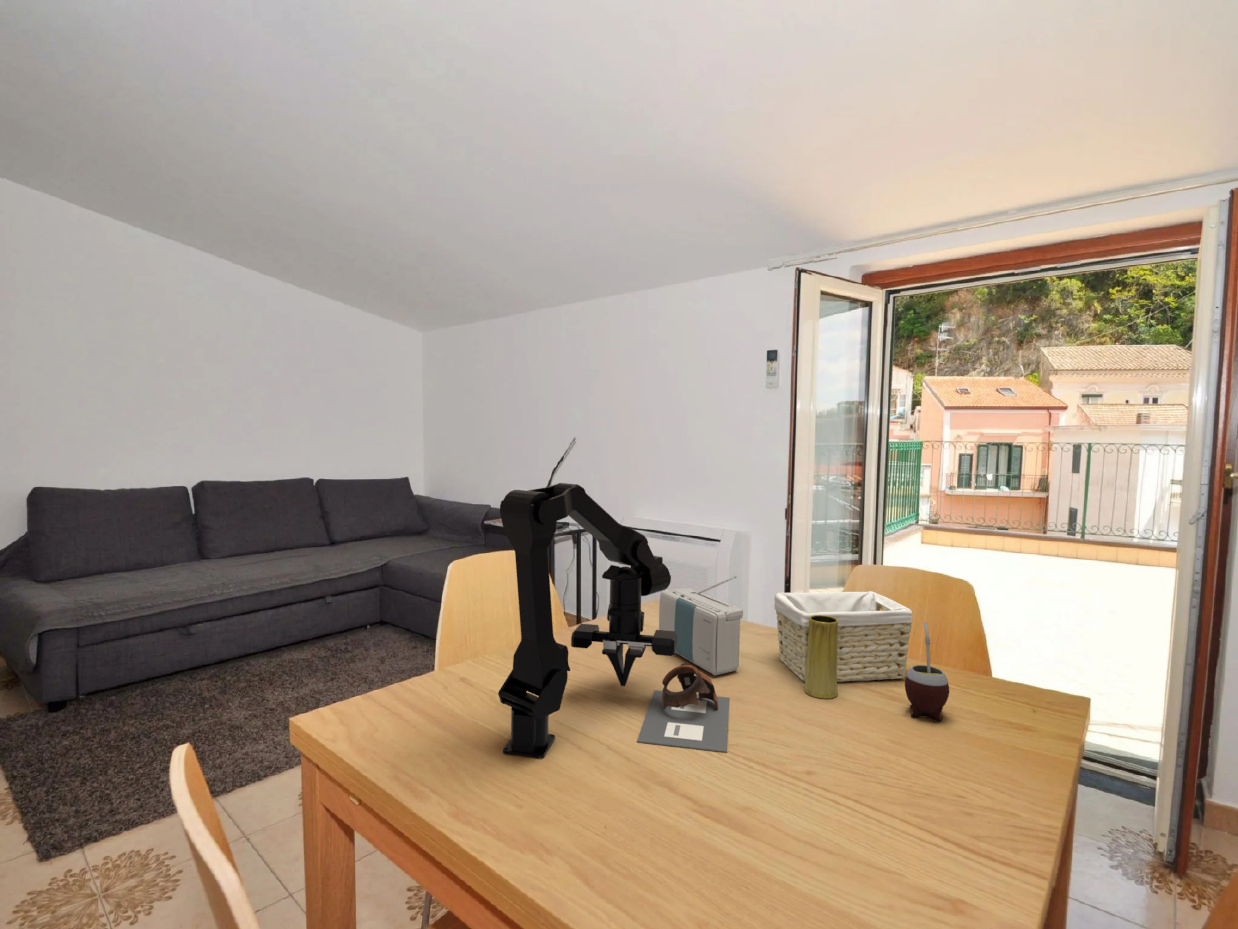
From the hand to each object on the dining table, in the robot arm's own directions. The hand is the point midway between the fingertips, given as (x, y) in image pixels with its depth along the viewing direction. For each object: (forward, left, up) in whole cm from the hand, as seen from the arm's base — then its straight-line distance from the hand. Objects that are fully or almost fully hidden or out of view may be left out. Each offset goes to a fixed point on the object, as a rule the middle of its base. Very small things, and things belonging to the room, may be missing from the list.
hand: (623, 685), depth 114 cm
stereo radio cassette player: (+24, -12, -3) cm, 27 cm away
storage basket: (+25, -41, -3) cm, 48 cm away
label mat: (-5, -12, -3) cm, 13 cm away
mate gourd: (+7, -53, -3) cm, 54 cm away
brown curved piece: (0, -12, -3) cm, 12 cm away
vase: (+12, -36, -3) cm, 38 cm away
